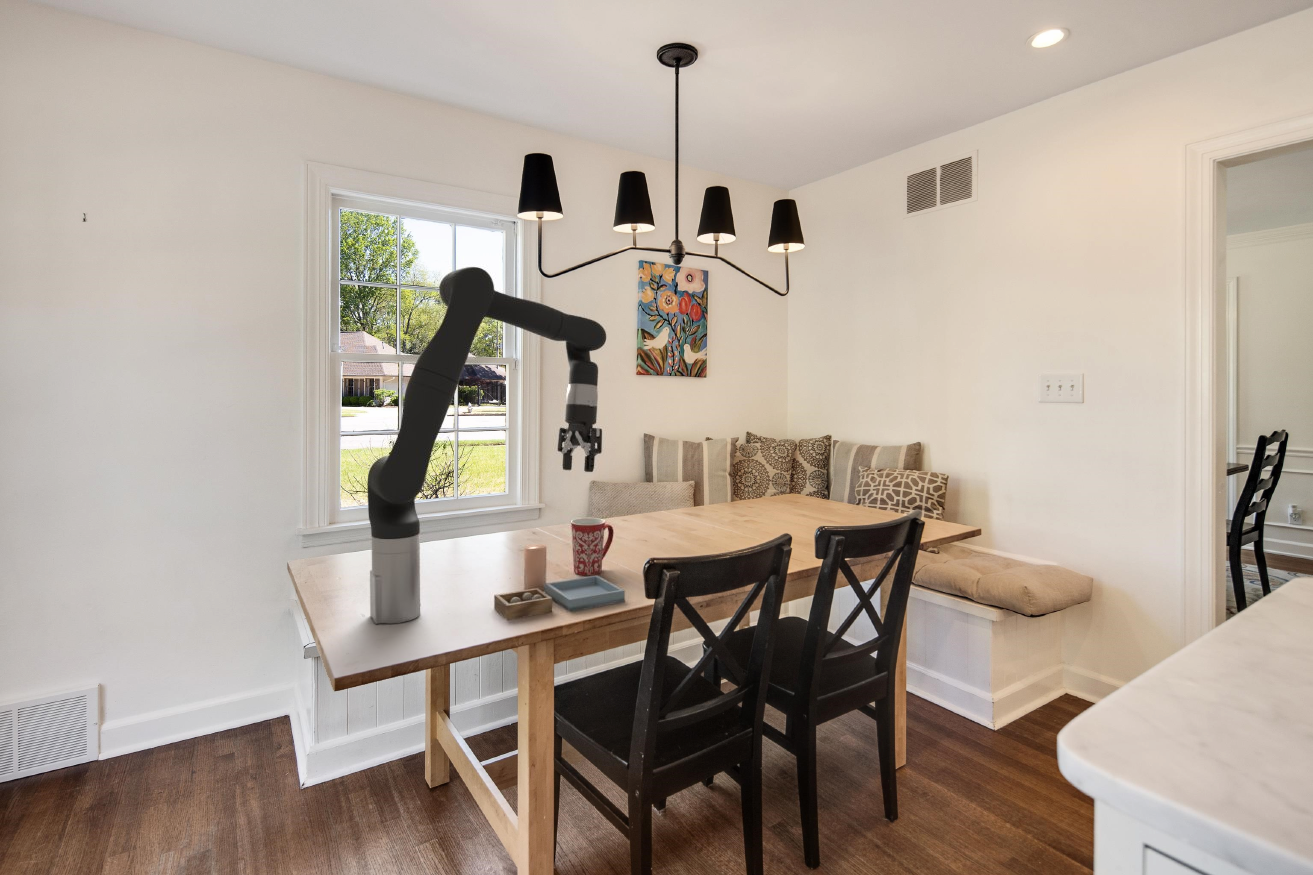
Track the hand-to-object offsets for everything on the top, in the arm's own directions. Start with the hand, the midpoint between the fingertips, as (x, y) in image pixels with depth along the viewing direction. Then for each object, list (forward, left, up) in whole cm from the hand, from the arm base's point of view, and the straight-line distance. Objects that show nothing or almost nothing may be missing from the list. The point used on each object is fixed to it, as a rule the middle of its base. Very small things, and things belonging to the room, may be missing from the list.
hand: (577, 470), depth 157 cm
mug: (+9, +9, -28) cm, 31 cm away
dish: (-3, -10, -28) cm, 30 cm away
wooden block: (-10, +2, -28) cm, 30 cm away
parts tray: (-18, -11, -28) cm, 35 cm away
